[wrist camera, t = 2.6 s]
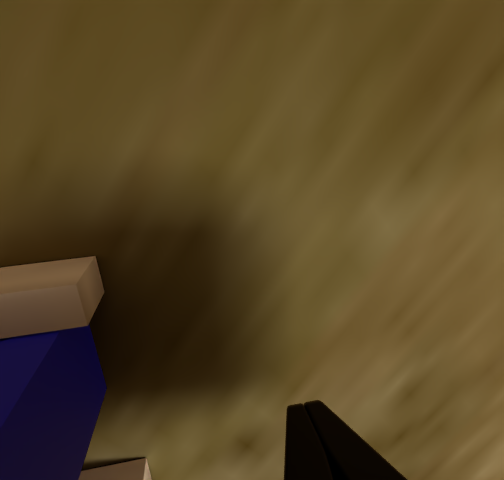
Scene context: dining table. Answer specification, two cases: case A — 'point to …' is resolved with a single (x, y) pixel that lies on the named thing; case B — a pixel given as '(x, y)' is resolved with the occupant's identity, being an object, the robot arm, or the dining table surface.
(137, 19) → the dining table surface
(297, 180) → the dining table surface
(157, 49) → the dining table surface
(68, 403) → the blue cradle block
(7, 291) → the guide track
